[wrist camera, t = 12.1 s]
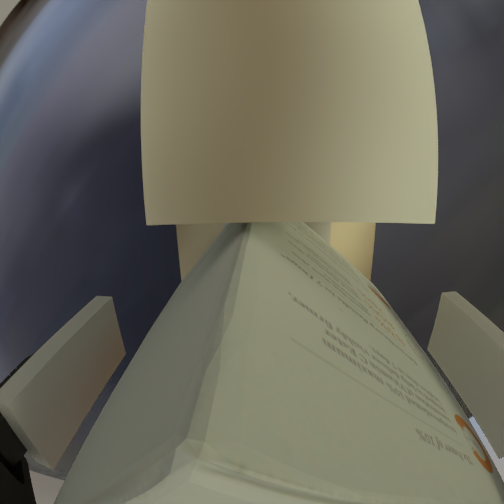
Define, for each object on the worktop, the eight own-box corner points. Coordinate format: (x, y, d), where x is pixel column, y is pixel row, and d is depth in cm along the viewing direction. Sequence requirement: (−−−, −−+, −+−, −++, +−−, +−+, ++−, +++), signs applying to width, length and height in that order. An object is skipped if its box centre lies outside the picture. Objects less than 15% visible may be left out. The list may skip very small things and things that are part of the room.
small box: (179, 283, 15) (33, 523, 2) (258, 183, 13) (166, 440, 1) (297, 367, 16) (319, 595, 4) (378, 288, 15) (523, 506, 2)
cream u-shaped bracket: (367, 75, 13) (488, -14, 3) (341, 410, 19) (368, 533, 9) (176, 76, 13) (57, -20, 3) (205, 412, 20) (177, 536, 10)
